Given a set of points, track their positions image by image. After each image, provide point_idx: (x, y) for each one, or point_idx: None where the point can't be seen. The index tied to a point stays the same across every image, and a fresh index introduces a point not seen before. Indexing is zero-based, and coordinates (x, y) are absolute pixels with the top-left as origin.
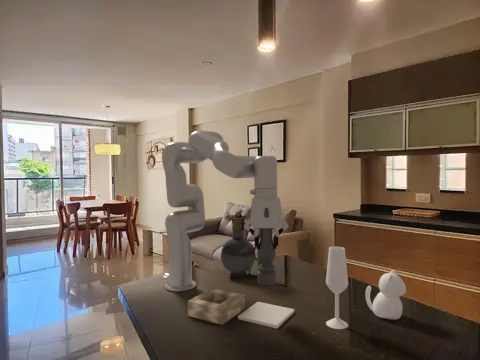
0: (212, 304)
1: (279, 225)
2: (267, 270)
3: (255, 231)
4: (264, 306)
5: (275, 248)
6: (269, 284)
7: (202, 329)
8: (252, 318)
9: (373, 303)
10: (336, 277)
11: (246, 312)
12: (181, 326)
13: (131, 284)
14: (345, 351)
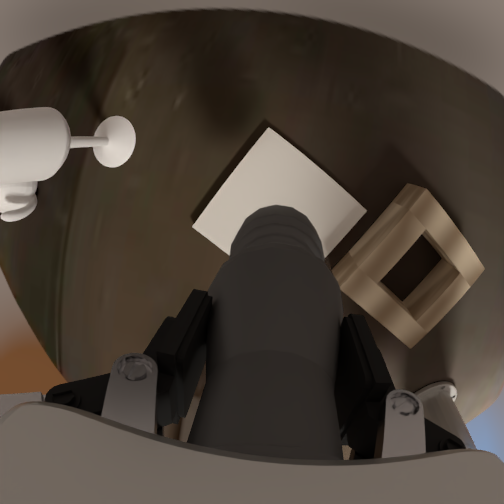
0: (443, 230)
1: (25, 421)
2: (282, 224)
3: (417, 438)
4: None
5: (202, 291)
6: (274, 205)
7: (450, 172)
8: (330, 184)
9: (23, 188)
10: (30, 109)
11: (338, 229)
12: (482, 201)
13: (486, 405)
14: (147, 24)
